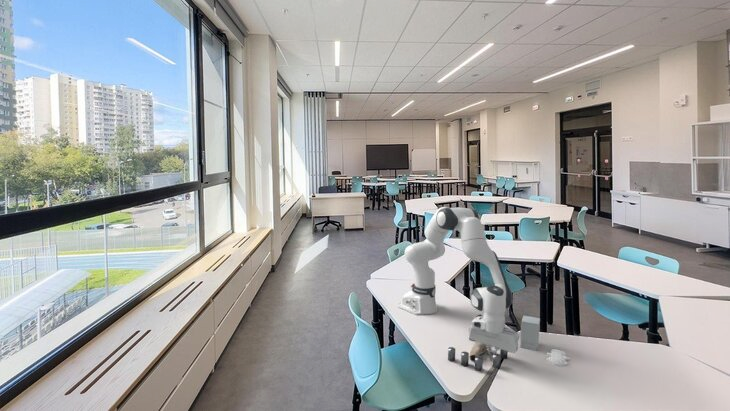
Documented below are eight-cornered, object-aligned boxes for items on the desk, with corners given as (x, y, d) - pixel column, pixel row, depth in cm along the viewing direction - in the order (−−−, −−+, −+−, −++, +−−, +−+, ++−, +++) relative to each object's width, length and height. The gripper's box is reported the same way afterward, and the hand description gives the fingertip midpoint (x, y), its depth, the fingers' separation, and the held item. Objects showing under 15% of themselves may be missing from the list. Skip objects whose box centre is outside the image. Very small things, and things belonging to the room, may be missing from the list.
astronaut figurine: (571, 356, 166) (571, 350, 165) (565, 369, 157) (566, 362, 156) (549, 350, 171) (550, 343, 171) (542, 362, 162) (543, 355, 161)
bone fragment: (476, 346, 175) (476, 336, 174) (489, 350, 171) (490, 341, 170) (463, 359, 165) (463, 349, 164) (477, 364, 161) (478, 354, 160)
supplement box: (537, 351, 170) (538, 324, 168) (519, 347, 173) (520, 321, 171) (538, 343, 176) (540, 318, 174) (521, 340, 180) (522, 314, 178)
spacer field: (446, 360, 164) (447, 349, 163) (470, 336, 183) (470, 327, 182) (492, 376, 152) (493, 365, 151) (513, 350, 171) (513, 339, 170)
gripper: (521, 328, 158) (519, 359, 160) (473, 315, 170) (472, 344, 173) (516, 334, 153) (514, 366, 155) (468, 320, 166) (467, 350, 168)
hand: (492, 354), depth 164 cm, fingers closed
